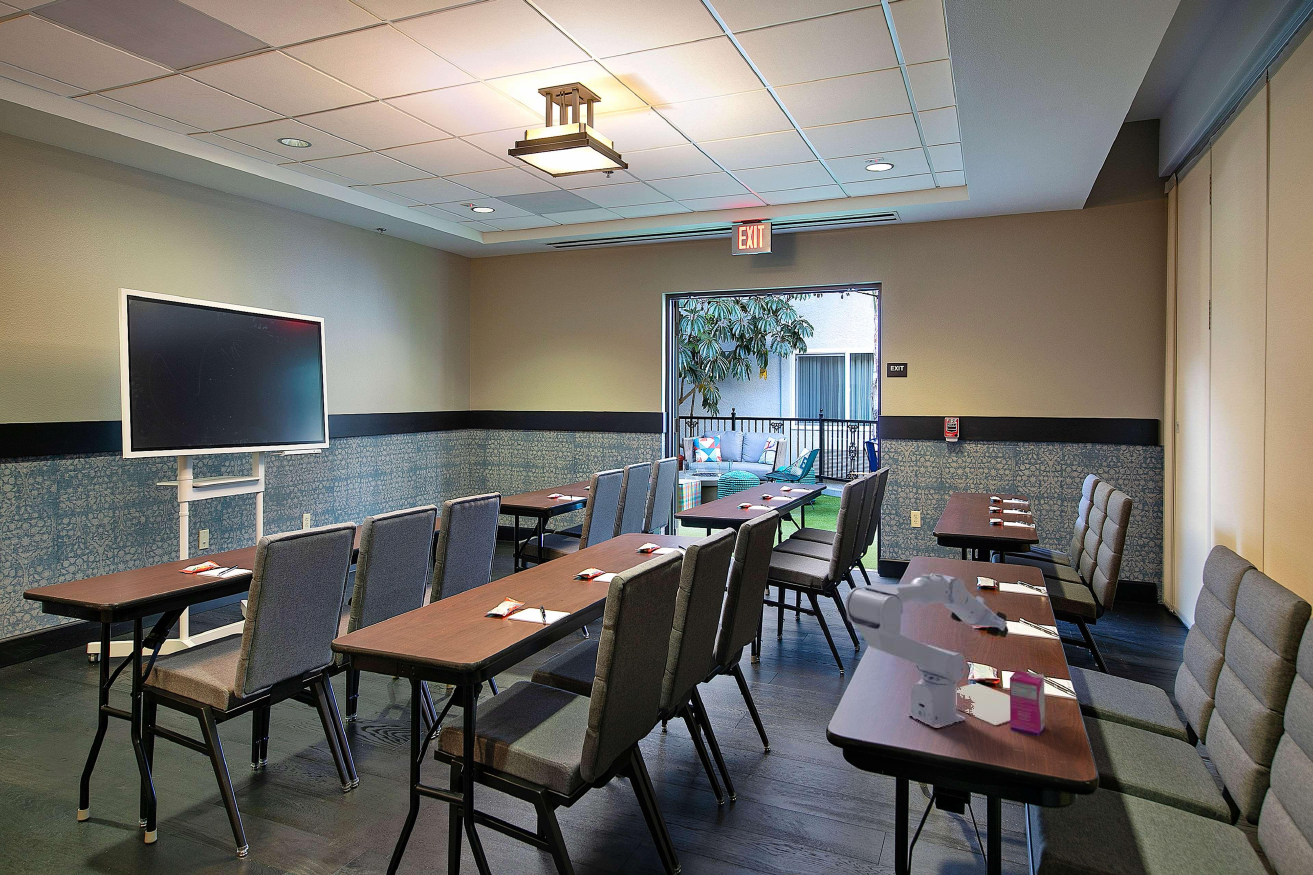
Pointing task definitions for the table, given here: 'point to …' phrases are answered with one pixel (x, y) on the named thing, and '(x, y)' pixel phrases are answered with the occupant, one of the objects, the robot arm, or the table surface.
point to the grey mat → (987, 703)
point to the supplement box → (1027, 702)
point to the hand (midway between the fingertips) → (990, 627)
